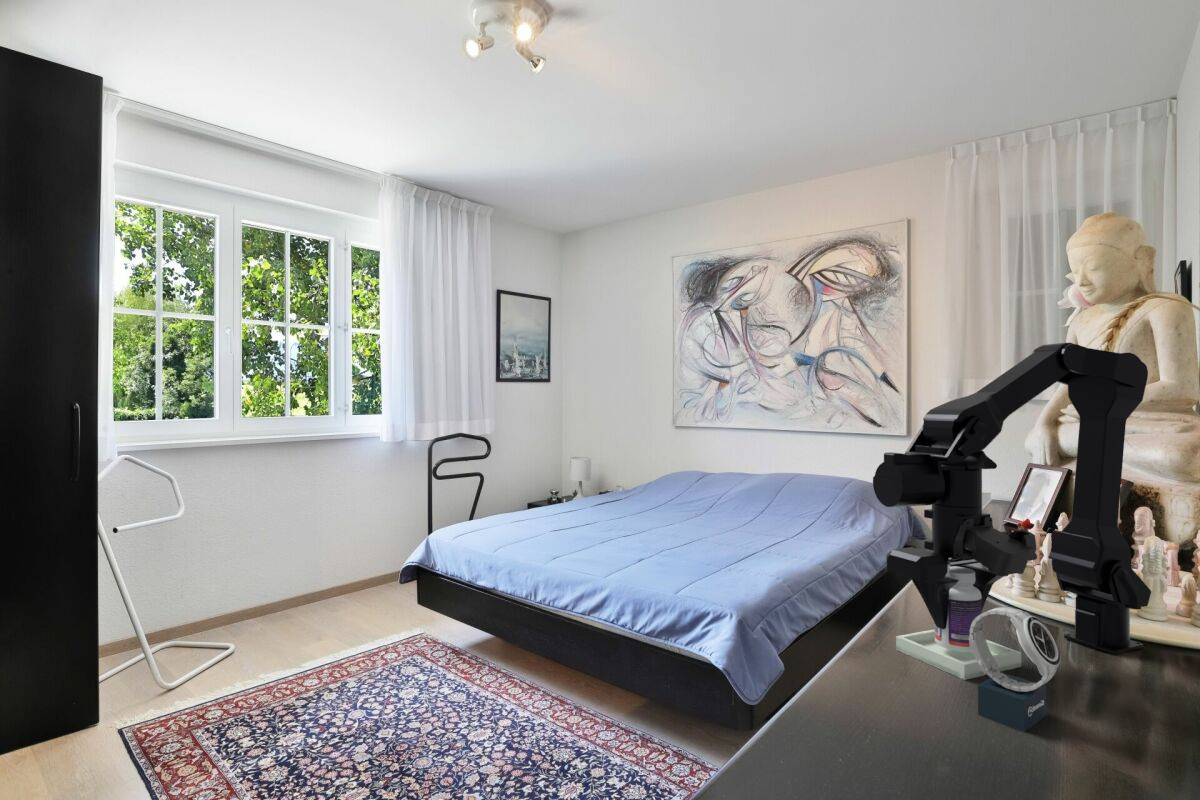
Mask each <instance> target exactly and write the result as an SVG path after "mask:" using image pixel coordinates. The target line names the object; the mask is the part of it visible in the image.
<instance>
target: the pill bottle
mask: <svg viewBox="0 0 1200 800" xmlns="http://www.w3.org/2000/svg"><path fill="white" fill-rule="evenodd" d="M950 578H953V579H957V580H959V581H958V582H957V583H956V584H955V585H954V586H953V587H952V588H951V589H950V590H949V602H948V618H947V624H946V628H945V629H941V628H938V627H937V626H936V624H935V622H934V621H933V623H934V625H933V628H934V636H935V642H936V643H937V644H938V645H940V646H942V647H944V648H947V649H950V650H954V651H960V652H973V651H972V649H971V646H970V642H969V637H970V627H971V624H972V622H973V621H974V620H975V618H976V617H977V616H979V615H981V614H982V613H983V610H982V596H981V592H980V591H979V589H977V588H976V587H974V586H973V584H974V583H975V571H974V570H972V569H968V568H964V567H957V566H952V567H950ZM981 625H982V626H981V629H982V630H983V623H982V624H981Z"/></svg>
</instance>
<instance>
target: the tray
mask: <svg viewBox="0 0 1200 800" xmlns="http://www.w3.org/2000/svg"><path fill="white" fill-rule="evenodd" d="M986 642H987V645H988V648H989V650H990V652H991V654H992V656H993V658H994V659H995V661H996V663H997V664H998V666H997V668H998V669H999V670H1000V671H1001V672H1006V671H1010V670H1014V669H1017V668H1021V667H1022V652H1021V651H1018V650H1015V649H1012V648H1010V647H1008V646H1004V645H1002V644H999V643H997V642H994V641H991V640H988V639H986ZM895 651H897V652H900V653H902V654H904V655H907V656H909V657H911V658H913V659H916V660H918V661H920V662H922V663H925V664H928V665H930V666H931V667H934V668H935V669H936V668H937V669H938V670H941V671H943V672H945V673H947V674H950V675H951V676H954V677H956V678H959V679H960V680H962V681H963V680H964V681H966V680H970V679H974V678H975V679H976V678H979V677H984V676H987V675H986V674H984V672H983V671H982V669H981V667H980V666H979V664H978V662H977V660H976V658H975V656H974V654H973V652H960V651H954V650H950V649H947V648H944V647H942V646H940V645H938V644H937V643H936V642H935V636H934V629H929V630H923V631H918V632H913V633H907V634H902V635H896V636H895Z"/></svg>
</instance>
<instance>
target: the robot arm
mask: <svg viewBox="0 0 1200 800" xmlns="http://www.w3.org/2000/svg"><path fill="white" fill-rule="evenodd" d="M1031 352H1032V353H1031V354H1030V355H1028V356H1027V357H1025V358H1024V359H1022V360H1021V361H1019V362H1018V363H1017V364H1015V365H1014V366H1013V367H1011V368H1009V369H1008V370H1007V371H1005V372H1004V373H1002V374H1001V375H999V376H998V377H996V378H995V379H993V380H992V381H991V382H989V383H988V384H986V385H985V386H983V387H982V388H980V389H979V390H977V391H976V392H974V393H972V394H969V395H966V396H963V397H960V398H955V399H953V400H949V401H947V402H944V403H943V404H941V405H938V406H936V407H933V408H932V409H930V410H928V412H926V413H925V415H924V417H923V424H922V426H921V427H920V429H919V430H918V432H917V433H916V435H915V436H914V438H913V440H912V441H911V442H910V444H909V446H908V447H907V449H906V450H905V452H904V453H903V452H884V453H883V462H881V463H880V464H879V465H878V466H877V468H876V470H875V474H874V476H872V477H873V478H872V486H873V491H874V494H875V496H876V498H877V500H878V502H879V503H880V504H882V505H883V506H884V507H887V508H895V507H896V508H897V507H918V506H919V507H920V506H921V507H922V506H923V507H924V506H931V508H928V509H923V516H924V517H923V518H926V519H931V539H929V540H923V543H924V544H923V545H924V546H923V547H924V549H925V550H924V549H920V548H916V547H913V546H910V547H902V548H894V549H891V550H890V551H889V552H888V553H887V554H886V555H885V558H886V572H890V573H893V574H897V575H899V576H903V577H906V578H910V579H911V582H912V583H913V584H914V586H915V588H916V589H917V591H918V593H919V595H920V596H921V598H922V600H923V602H924V604H925V606H926V608H927V610H928V612H929V615H930V616H931V618H932V620H933V623H934V622H935V624H936V626H937V627H938V628H941V629H945V628H946V624H947V618H948V602H949V590H950V589H951V588H952V587H953V586H954V585H955V584H956V583H957V582H958V581H959V580H957V579H953V578H950V567H952V566H957V567H964V568H968V569H972V570H974V571H975V583H974V584H973V586H974V587H976V588H977V589H979V591H980V592H981V596H982V611H983V610H984V607H985V605H986V602H987V599H988V596H989V593H990V592H991V590H992V587H993V585H994V584H995V583H996V582H997V581H1000V580H1001V579H1002V578H1004V577H1009V576H1010V575H1015V574H1018V575H1022V574H1024V573H1025V570H1026V568H1027V564H1028V563H1029V562H1030V561H1036V560H1037V558H1038V555H1037V553H1036V552H1037V541H1036V536H1035V534H1034V533H1033V532H1031V531H1029V530H1027V529H1025V528H1024V529H1015V530H1013V531H1012V532H1011V533H1009V532H1008V531H1006V530H1004V531H999V530H998V529H995V528H994V526H993V517H992V516H991V513H985V512H983V470H994V469H997V467H998V465H997V463H996V462H995V461H994V460H992V459H991V458H990V457H989V456H988V455H987V454H986V453H985V451H984V450H985V449H986V448H987V447H988V446H989V445H990V444H991V443H992V442H993V441H994V440H995V439H996V438H997V437H998V436H999V435H1000V433H1001V432H1002V431H1003V425H1004V422H1005V420H1006V419H1007V418H1009V417H1010V416H1011V415H1013V413H1015V412H1016V411H1018V410H1019V409H1021V408H1022V407H1023V406H1024V405H1027V404H1028V403H1029V402H1031V400H1033V399H1035V398H1036V397H1038V395H1040V394H1041V393H1043V392H1044V391H1046V390H1048V388H1050V387H1052V386H1053V385H1054V384H1056V383H1059V384H1061V385H1065V386H1067V395H1068V399H1069V401H1070V403H1071V404H1072V406H1073V408H1074V410H1075V411H1076V413H1077V414H1078V416H1079V426H1078V438H1077V439H1078V440H1077V449H1076V451H1077V452H1076V462H1075V471H1074V473H1075V474H1074V475H1075V476H1074V484H1073V485H1074V487H1073V498H1072V499H1073V500H1072V510H1071V511H1072V512H1071V519H1070V520H1069V522H1068V523H1067V524H1066V525H1065V527H1064V528H1063V529H1062V530H1057V529H1054V530H1053V531H1052V533H1051V535H1050V539H1051V541H1050V543H1051V547H1050V551H1049V555H1048V556H1047V557H1048V559H1051V568H1052V571H1053V572H1054V573H1055V576H1056V580H1057V582H1058V585H1059V588H1060V590H1061V591H1063V592H1068V593H1071V594H1074V595H1076V596H1075V609H1074V631H1073V632H1067V633H1064V634H1063V638H1064V639H1067V640H1068V641H1073V642H1076V643H1078V644H1082V645H1085V646H1087V647H1091V648H1094V649H1097V650H1100V651H1104V652H1106V653H1109V654H1114V655H1117V654H1121V653H1126V652H1130V651H1134V650H1138V649H1142V647H1143V648H1144V644H1143V643H1141V642H1139V641H1135V640H1132V639H1131V638H1130V637H1131V630H1130V629H1131V626H1130V625H1131V623H1130V621H1131V620H1130V618H1131V616H1130V615H1131V612H1130V609H1132V610H1142V608H1143V607H1144V608H1145V607H1147V606H1149V602H1150V598H1151V594H1152V591H1151V588H1150V587H1149V586H1148V585H1147V584H1146V583H1145V581H1143V580H1142V578H1141V577H1140V576H1139V575H1138V574H1137V573H1136V571H1134V569H1133V567H1132V566H1133V564H1132V553H1131V547H1130V545H1129V544H1128V542H1127V541H1126V538H1125V536H1124V535H1123V534H1122V531H1121V530H1120V528H1119V524H1118V523H1119V512H1120V511H1119V510H1120V498H1121V486H1122V476H1123V475H1122V473H1123V463H1124V462H1123V461H1124V450H1125V449H1124V447H1125V436H1126V435H1125V434H1126V425H1127V419H1129V417H1130V416H1131V415H1132V414H1133V412H1134V411H1135V410H1136V409H1137V408H1138V406H1140V404H1141V403H1142V401H1143V399H1144V395H1145V390H1146V387H1147V383H1148V378H1149V377H1148V376H1149V375H1148V374H1149V371H1148V367H1147V364H1146V363H1145V362H1143V361H1142V360H1141V358H1140V357H1139V356H1137V355H1136V354H1134V353H1132V352H1116V351H1115V352H1114V351H1109V350H1103V349H1098V348H1097V349H1096V348H1091V347H1089V348H1088V347H1086V346H1083V345H1079V344H1077V343H1073V342H1060V343H1050V344H1043V345H1040V346H1038V347H1037V348H1035V349H1034V350H1033V351H1031ZM928 550H929V551H928Z"/></svg>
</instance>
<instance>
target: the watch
mask: <svg viewBox="0 0 1200 800" xmlns="http://www.w3.org/2000/svg"><path fill="white" fill-rule="evenodd" d="M989 615H1001V616H1007V617H1009V620H1010V622H1011V623H1012V625H1013V626H1014V627H1015V629H1016V635H1017V640H1018V642H1019V644H1020V647H1021V648H1022V650H1023V652H1024V654H1025V656H1027V657H1028V658H1029V659H1030V661H1031V662H1032V663H1033V664H1034V665H1036V667H1037V670H1038V672H1039V674H1040V676H1042V677H1041V679H1040V680H1039V681H1037V682H1034V681H1032V680H1031V681H1030V680H1027V679H1025V678H1021V677H1017V676H1015V675H1011V674H1008V673H1005V672H1003V671H1000V670H999V669H998V668H997V666H998V664H997V663H996V661H995V659H994V658H993V656H992V654H991V652H990V650H989V648H988V645H987V642H986V640H987V639H986V637H985V636H984V633H983V628H982V629H981V626H982V627H983V623H984V621H985V620H986V618H988V616H989ZM981 624H982V625H981ZM969 642H970V646H971V649H972V651H973V654H974V656H975V658H976V660H977V662H978V664H979V666H980V667H981V669H982V671H983V672H984V674H986V675H985V676H988V677H989V678H988V679H986V680H984V681H983V682H980V683H978V685H977V715H979V716H980V717H984V718H987V719H989V720H991V721H994V722H997V723H999V724H1002V725H1004V726H1008V727H1011V728H1014V729H1016V730H1019V731H1021V732H1026V731H1027V730H1029V729H1030V728H1032V726H1034V725H1035V724H1037V723H1039V722H1040V721H1041V720H1043V719H1044V718H1046V717H1047V686H1046V685H1045V684H1047V683H1048V682H1049V681H1050V680H1051V679H1052V678H1053V677H1054V676H1055V674H1056V672H1057V670H1058V667H1059V664H1061V653H1060V649H1059V646H1058V643H1057V641H1056V639H1055V637H1054V635H1053V634H1052V632H1051V630H1050V629H1049V627H1048V626H1047V625H1046V624H1045V623H1044V622H1043V621H1042V620H1041V619H1039V618H1038V617H1036V616H1034V615H1031V614H1029V613H1028V612H1027V611H1023V610H1022V609H1018V608H1015V607H1011V606H1010V607H1009V606H999V607H995V608H992V609H989V610H987V611H985V612H982V614H981V615H979V616H977V617H976V618H975V620H974V621H973V622H972V624H971V627H970V637H969Z"/></svg>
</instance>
